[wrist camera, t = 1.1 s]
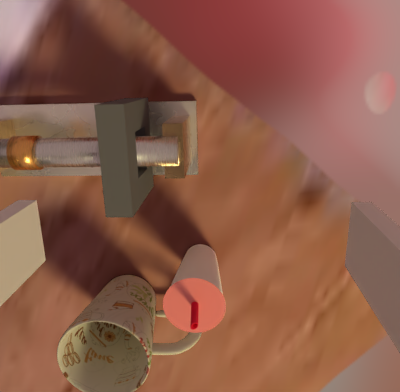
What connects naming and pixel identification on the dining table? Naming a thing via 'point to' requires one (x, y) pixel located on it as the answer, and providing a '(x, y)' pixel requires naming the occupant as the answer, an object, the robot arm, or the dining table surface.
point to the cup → (196, 292)
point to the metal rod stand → (93, 140)
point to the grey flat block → (123, 154)
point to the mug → (115, 339)
